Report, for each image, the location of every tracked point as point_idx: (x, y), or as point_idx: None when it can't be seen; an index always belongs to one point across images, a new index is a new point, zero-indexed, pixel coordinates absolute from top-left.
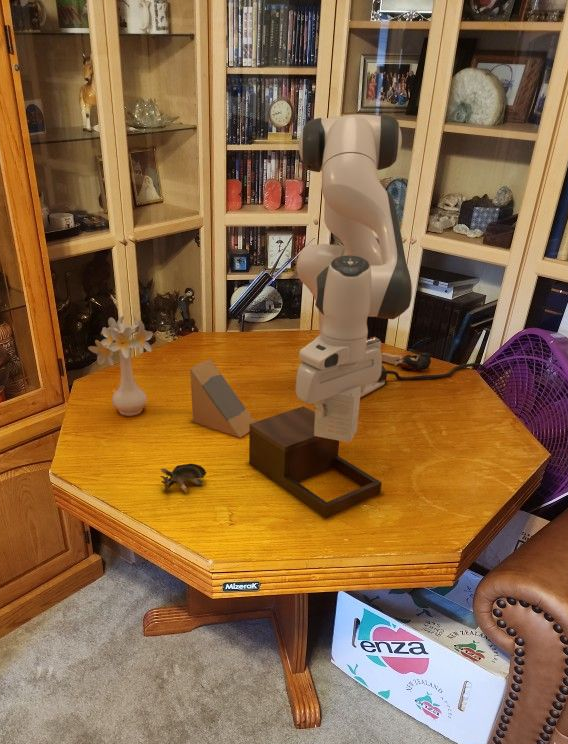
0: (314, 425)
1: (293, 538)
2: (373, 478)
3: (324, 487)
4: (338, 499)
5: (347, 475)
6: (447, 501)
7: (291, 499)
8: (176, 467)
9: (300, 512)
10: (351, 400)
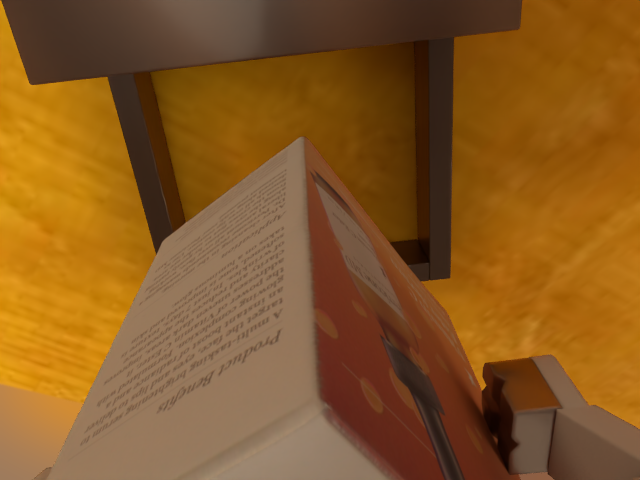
0: (143, 282)
1: (32, 320)
2: (444, 246)
3: (286, 124)
4: None
5: (417, 108)
6: (571, 366)
7: (118, 133)
8: None
9: (115, 219)
10: None
